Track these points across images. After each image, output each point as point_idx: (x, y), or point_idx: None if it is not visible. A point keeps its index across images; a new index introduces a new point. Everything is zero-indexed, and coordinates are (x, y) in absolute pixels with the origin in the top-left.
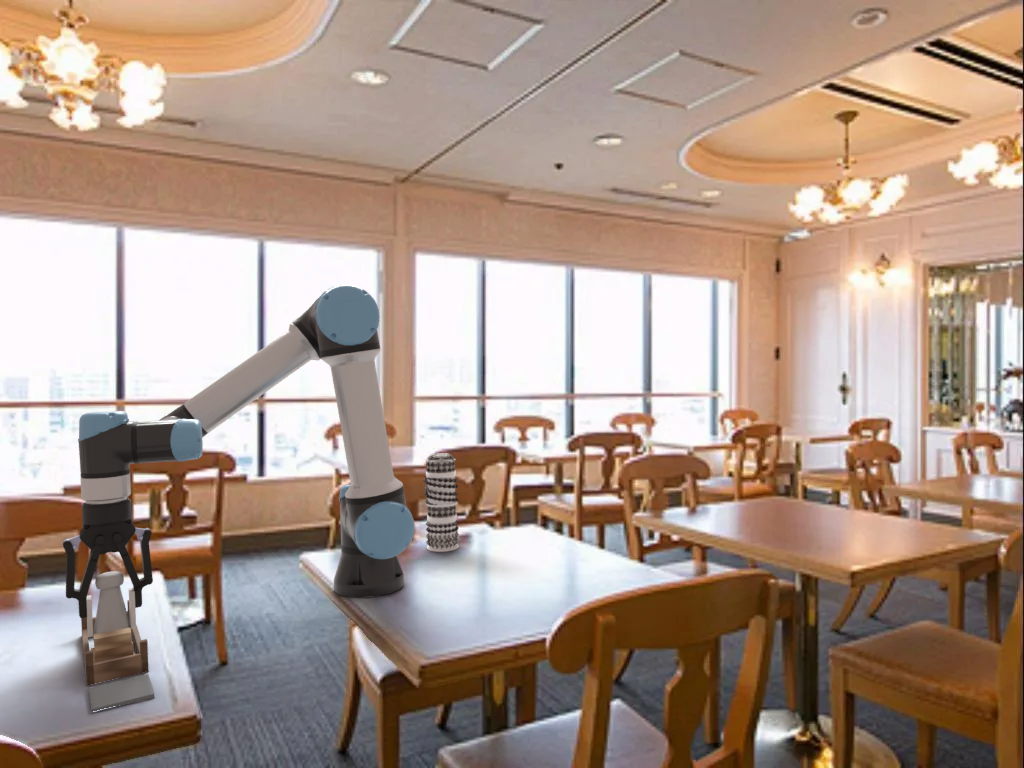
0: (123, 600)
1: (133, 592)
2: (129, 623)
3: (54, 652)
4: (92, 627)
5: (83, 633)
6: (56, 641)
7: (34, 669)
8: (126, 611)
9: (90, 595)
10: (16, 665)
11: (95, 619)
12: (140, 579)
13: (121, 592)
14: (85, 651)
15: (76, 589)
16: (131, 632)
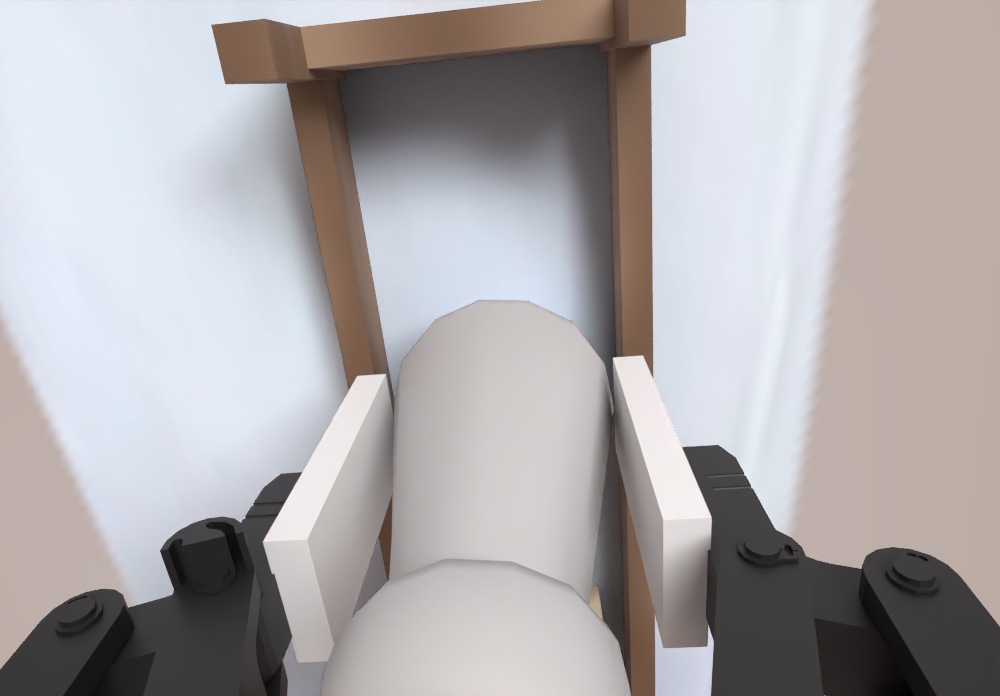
0: (596, 540)
1: (694, 638)
2: (610, 428)
3: (203, 283)
4: (388, 497)
5: (319, 207)
6: (155, 69)
7: (175, 473)
8: (604, 476)
9: (304, 551)
10: (63, 377)
11: (393, 459)
12: (819, 636)
13: (589, 593)
14: (383, 525)
15: (144, 659)
16: (611, 188)
